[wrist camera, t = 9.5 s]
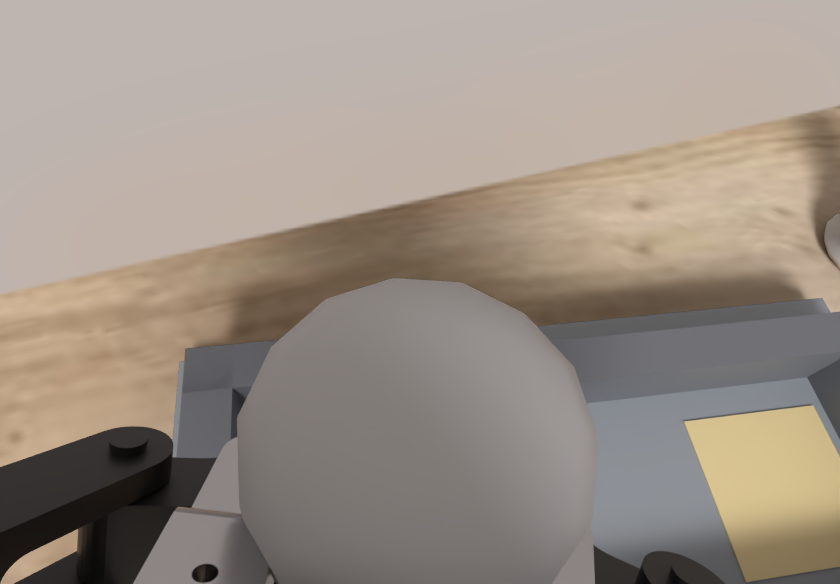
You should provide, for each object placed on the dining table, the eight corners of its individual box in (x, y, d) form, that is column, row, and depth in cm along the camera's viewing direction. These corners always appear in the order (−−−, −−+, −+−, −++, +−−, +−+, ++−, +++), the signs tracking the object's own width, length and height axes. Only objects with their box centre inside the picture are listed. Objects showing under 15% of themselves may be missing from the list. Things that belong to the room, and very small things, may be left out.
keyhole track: (146, 889, 14) (82, 966, 11) (187, 372, 21) (155, 330, 18) (1027, 702, 17) (1166, 721, 14) (806, 309, 24) (867, 265, 21)
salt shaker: (294, 468, 18) (153, 219, 7) (463, 440, 19) (587, 177, 8) (307, 683, 15) (101, 865, 4) (507, 638, 16) (811, 684, 5)
